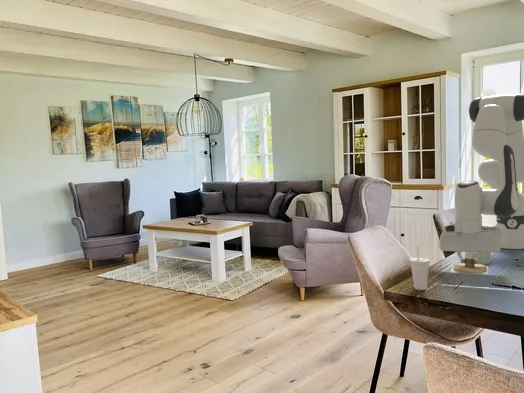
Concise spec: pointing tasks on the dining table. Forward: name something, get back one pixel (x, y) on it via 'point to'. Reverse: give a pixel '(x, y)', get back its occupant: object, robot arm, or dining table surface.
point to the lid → (470, 266)
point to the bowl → (483, 259)
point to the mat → (470, 273)
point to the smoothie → (420, 271)
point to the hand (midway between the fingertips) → (469, 263)
